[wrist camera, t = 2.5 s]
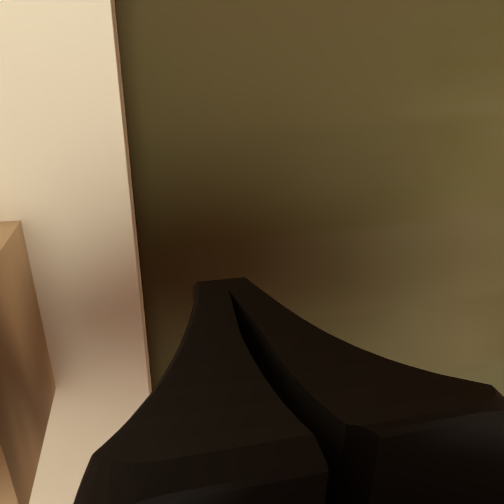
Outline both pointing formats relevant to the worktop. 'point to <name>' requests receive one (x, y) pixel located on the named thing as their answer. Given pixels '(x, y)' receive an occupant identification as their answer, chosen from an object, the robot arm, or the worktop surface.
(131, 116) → the worktop surface
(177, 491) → the robot arm
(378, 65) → the worktop surface
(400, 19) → the worktop surface
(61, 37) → the trap box
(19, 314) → the maple block
